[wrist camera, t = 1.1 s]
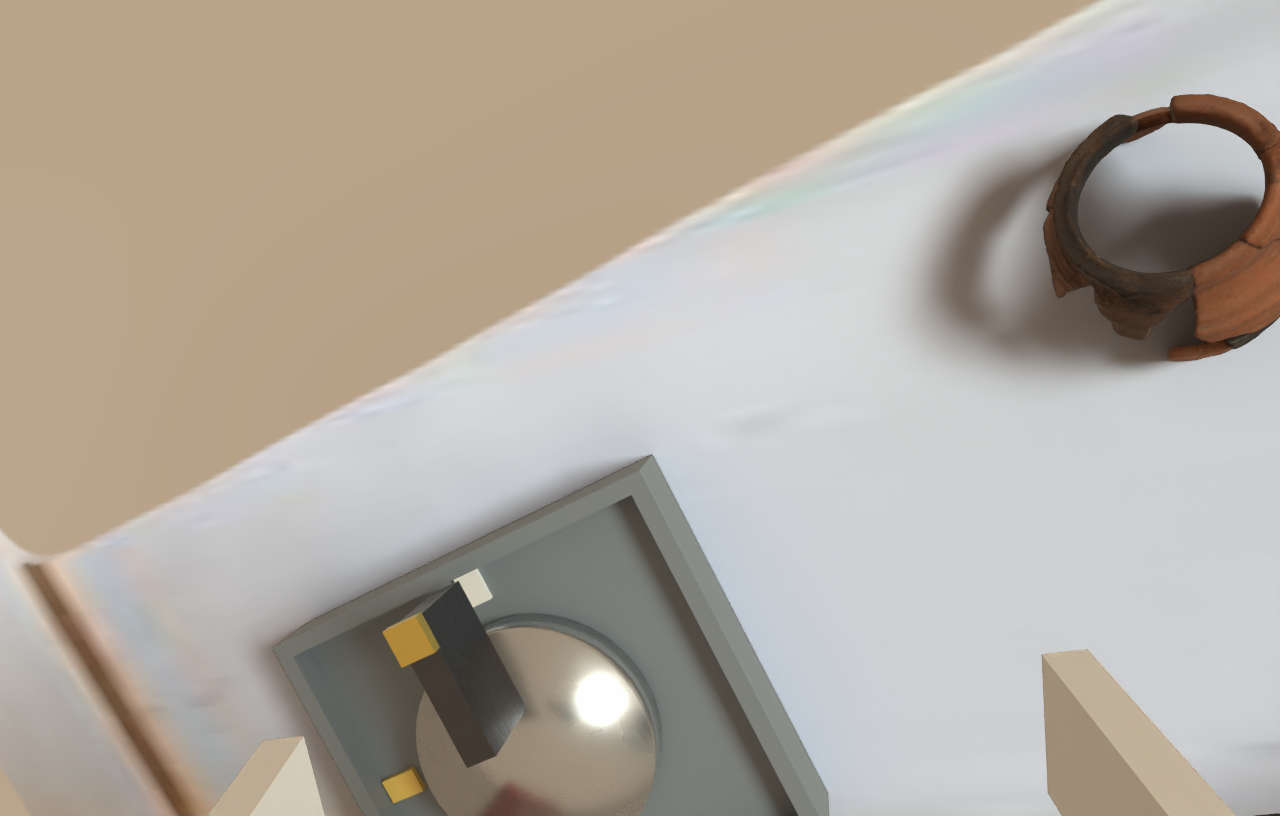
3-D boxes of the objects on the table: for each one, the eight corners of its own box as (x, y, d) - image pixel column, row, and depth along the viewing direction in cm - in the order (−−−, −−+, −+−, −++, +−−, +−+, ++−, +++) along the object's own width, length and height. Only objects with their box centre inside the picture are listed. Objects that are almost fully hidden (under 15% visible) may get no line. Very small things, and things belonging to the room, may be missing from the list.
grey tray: (828, 793, 42) (830, 837, 39) (475, 923, 47) (450, 973, 43) (652, 454, 41) (639, 470, 38) (310, 620, 46) (271, 648, 42)
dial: (703, 788, 41) (685, 884, 34) (501, 866, 43) (449, 968, 37) (562, 521, 40) (517, 568, 34) (365, 615, 42) (288, 676, 36)
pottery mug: (1105, 408, 38) (1076, 360, 31) (1032, 218, 41) (993, 137, 34) (1461, 299, 32) (1520, 211, 25) (1344, 89, 35) (1370, -38, 29)
